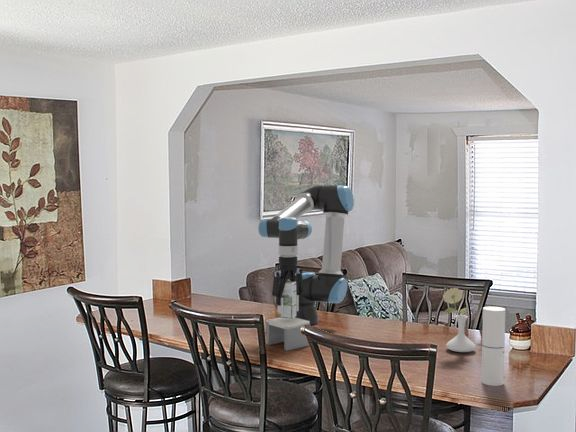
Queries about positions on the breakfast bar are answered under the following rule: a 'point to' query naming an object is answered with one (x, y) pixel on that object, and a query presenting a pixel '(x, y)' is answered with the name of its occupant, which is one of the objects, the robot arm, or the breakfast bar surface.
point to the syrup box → (289, 300)
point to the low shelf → (286, 332)
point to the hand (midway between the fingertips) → (288, 311)
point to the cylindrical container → (493, 346)
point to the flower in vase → (460, 341)
